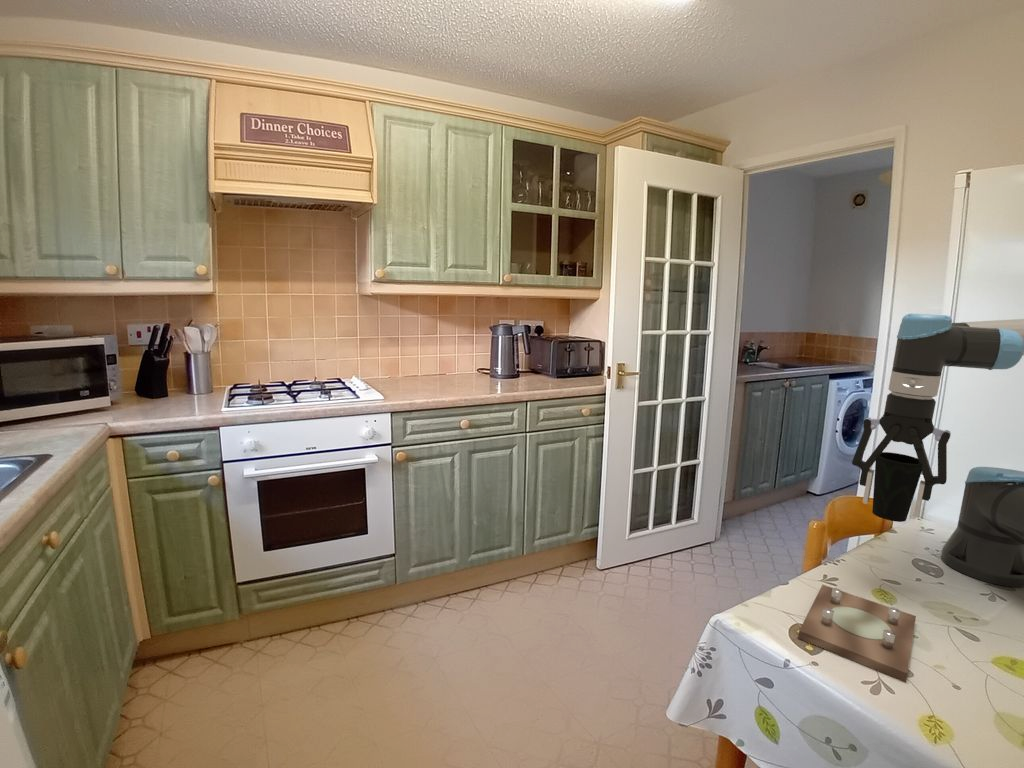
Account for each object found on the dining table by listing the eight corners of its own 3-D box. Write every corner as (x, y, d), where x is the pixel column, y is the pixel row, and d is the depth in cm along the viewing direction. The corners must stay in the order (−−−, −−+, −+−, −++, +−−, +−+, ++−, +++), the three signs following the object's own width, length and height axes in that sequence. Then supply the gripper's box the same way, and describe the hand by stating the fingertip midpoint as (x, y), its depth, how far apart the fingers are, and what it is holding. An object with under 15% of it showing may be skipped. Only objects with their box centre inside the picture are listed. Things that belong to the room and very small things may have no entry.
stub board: (914, 623, 96) (918, 603, 96) (905, 682, 81) (910, 658, 81) (821, 591, 106) (824, 572, 105) (798, 638, 91) (801, 617, 90)
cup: (920, 526, 101) (933, 466, 99) (876, 521, 102) (887, 461, 100) (901, 510, 108) (911, 454, 106) (859, 505, 110) (869, 450, 108)
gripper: (846, 388, 105) (827, 497, 109) (982, 407, 92) (956, 530, 96) (852, 384, 110) (835, 488, 114) (982, 402, 97) (957, 518, 101)
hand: (890, 507), depth 105 cm, fingers closed on cup, 8 cm apart
